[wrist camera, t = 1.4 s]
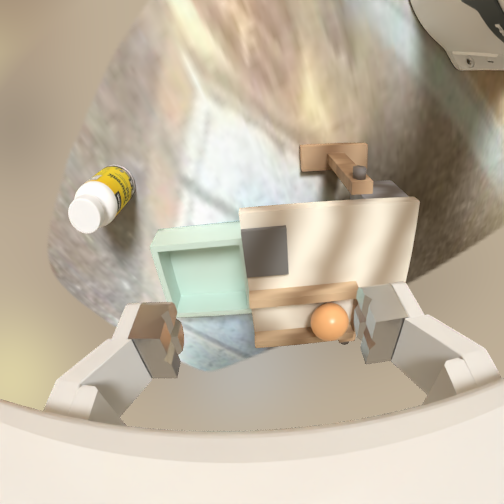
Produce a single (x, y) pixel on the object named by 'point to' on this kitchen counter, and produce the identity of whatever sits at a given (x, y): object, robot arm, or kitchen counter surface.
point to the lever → (322, 258)
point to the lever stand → (340, 169)
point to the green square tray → (202, 269)
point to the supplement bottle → (101, 198)
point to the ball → (329, 321)
